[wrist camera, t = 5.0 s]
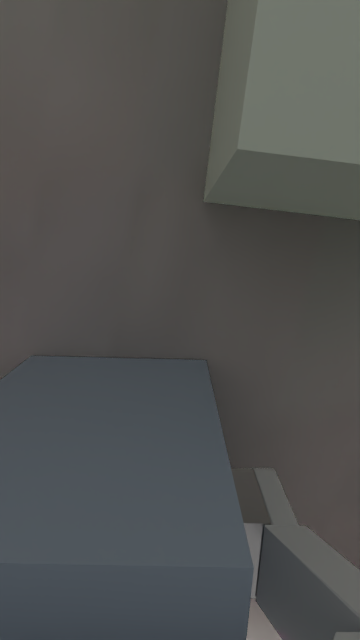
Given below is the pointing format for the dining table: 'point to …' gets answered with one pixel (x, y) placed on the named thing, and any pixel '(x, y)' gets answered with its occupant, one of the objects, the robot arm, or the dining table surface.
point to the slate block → (118, 504)
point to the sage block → (288, 108)
